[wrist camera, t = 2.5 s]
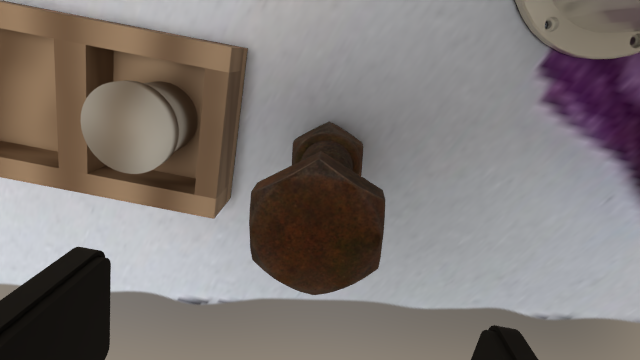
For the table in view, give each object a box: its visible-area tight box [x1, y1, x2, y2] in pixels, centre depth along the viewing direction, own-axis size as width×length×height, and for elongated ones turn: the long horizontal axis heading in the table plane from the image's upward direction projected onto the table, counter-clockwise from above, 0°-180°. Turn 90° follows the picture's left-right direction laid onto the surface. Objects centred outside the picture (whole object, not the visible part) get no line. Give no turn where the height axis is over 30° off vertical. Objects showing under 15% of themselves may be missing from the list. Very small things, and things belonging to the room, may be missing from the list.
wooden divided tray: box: [0, 0, 248, 219], centre depth 26 cm, size 20×12×6 cm, turn 80°
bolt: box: [249, 122, 385, 295], centre depth 21 cm, size 6×5×15 cm
